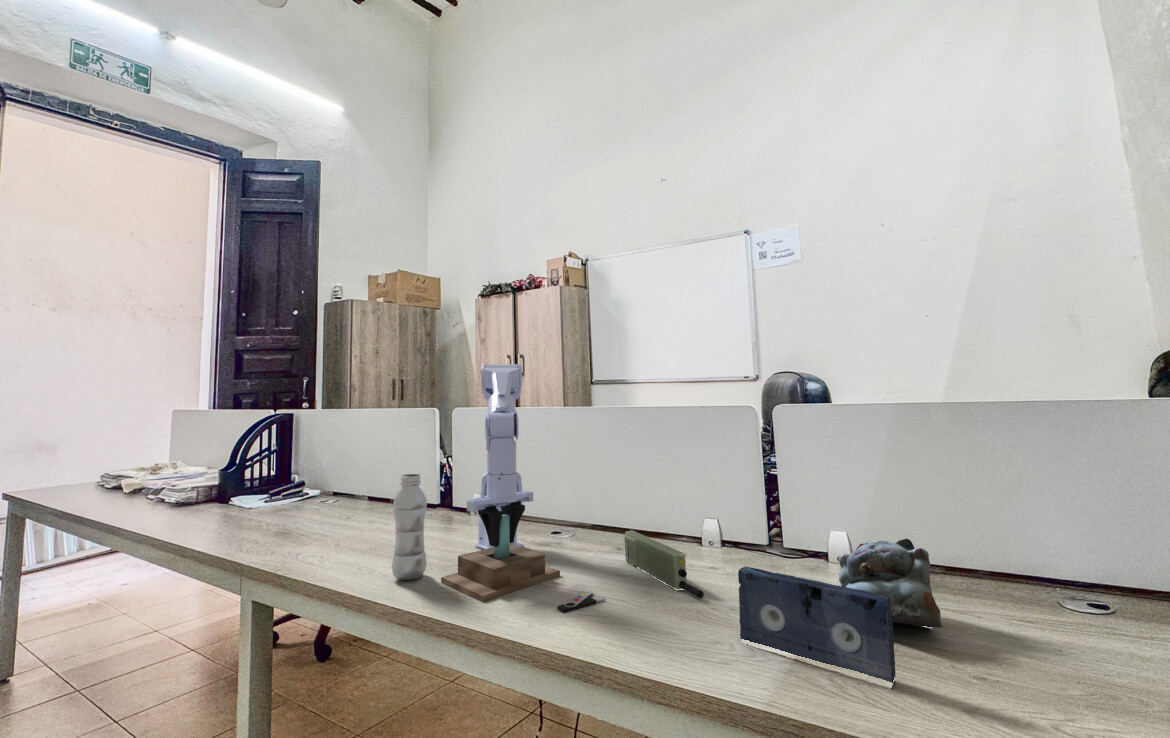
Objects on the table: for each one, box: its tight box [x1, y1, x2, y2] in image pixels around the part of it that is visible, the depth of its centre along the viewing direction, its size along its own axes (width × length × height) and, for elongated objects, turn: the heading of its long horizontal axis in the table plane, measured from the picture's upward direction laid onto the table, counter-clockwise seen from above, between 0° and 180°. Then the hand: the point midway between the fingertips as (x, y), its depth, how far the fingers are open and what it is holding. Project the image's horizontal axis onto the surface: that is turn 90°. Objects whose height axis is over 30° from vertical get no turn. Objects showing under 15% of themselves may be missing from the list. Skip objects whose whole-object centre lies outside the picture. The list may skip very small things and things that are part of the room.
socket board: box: [440, 544, 561, 603], centre depth 95 cm, size 14×18×4 cm
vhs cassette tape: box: [737, 565, 896, 683], centre depth 64 cm, size 18×3×10 cm, turn 48°
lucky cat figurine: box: [838, 538, 943, 628], centre depth 75 cm, size 15×12×14 cm
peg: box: [494, 515, 510, 560], centre depth 96 cm, size 3×3×8 cm
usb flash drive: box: [556, 590, 607, 614], centre depth 83 cm, size 9×5×1 cm, turn 124°
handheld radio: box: [624, 529, 705, 600], centre depth 95 cm, size 7×3×25 cm
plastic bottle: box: [391, 473, 428, 581], centre depth 97 cm, size 6×7×20 cm
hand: (501, 543), depth 96 cm, fingers closed on peg, 3 cm apart
